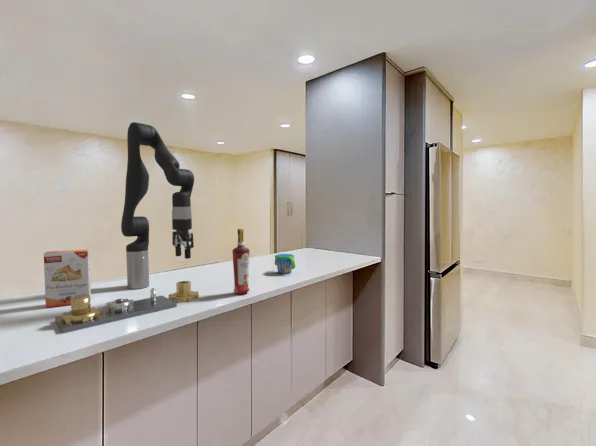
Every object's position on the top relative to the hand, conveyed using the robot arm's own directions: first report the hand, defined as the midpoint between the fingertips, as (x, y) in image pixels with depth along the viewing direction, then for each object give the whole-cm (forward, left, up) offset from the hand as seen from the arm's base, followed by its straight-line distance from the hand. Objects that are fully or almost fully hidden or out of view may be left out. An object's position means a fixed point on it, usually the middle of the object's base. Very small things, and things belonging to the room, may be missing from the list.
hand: (183, 257), depth 130 cm
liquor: (+11, +21, -17) cm, 29 cm away
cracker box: (-25, -35, -17) cm, 46 cm away
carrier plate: (+2, -25, -17) cm, 30 cm away
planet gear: (0, 0, -17) cm, 17 cm away
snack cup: (-6, +62, -17) cm, 65 cm away
